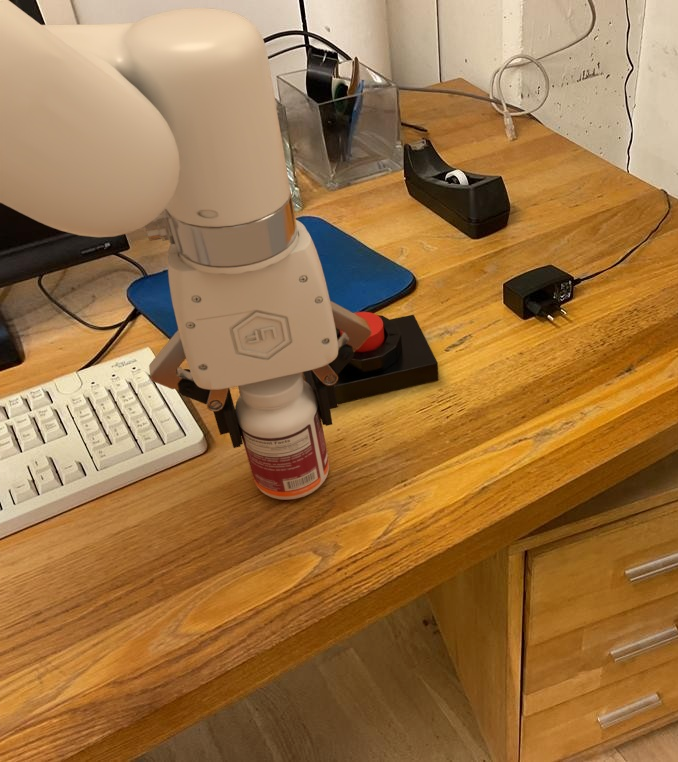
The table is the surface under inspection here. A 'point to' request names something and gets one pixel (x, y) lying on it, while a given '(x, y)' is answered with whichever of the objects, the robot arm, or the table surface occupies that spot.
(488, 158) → the table surface
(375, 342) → the button
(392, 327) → the button box
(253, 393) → the pill bottle
